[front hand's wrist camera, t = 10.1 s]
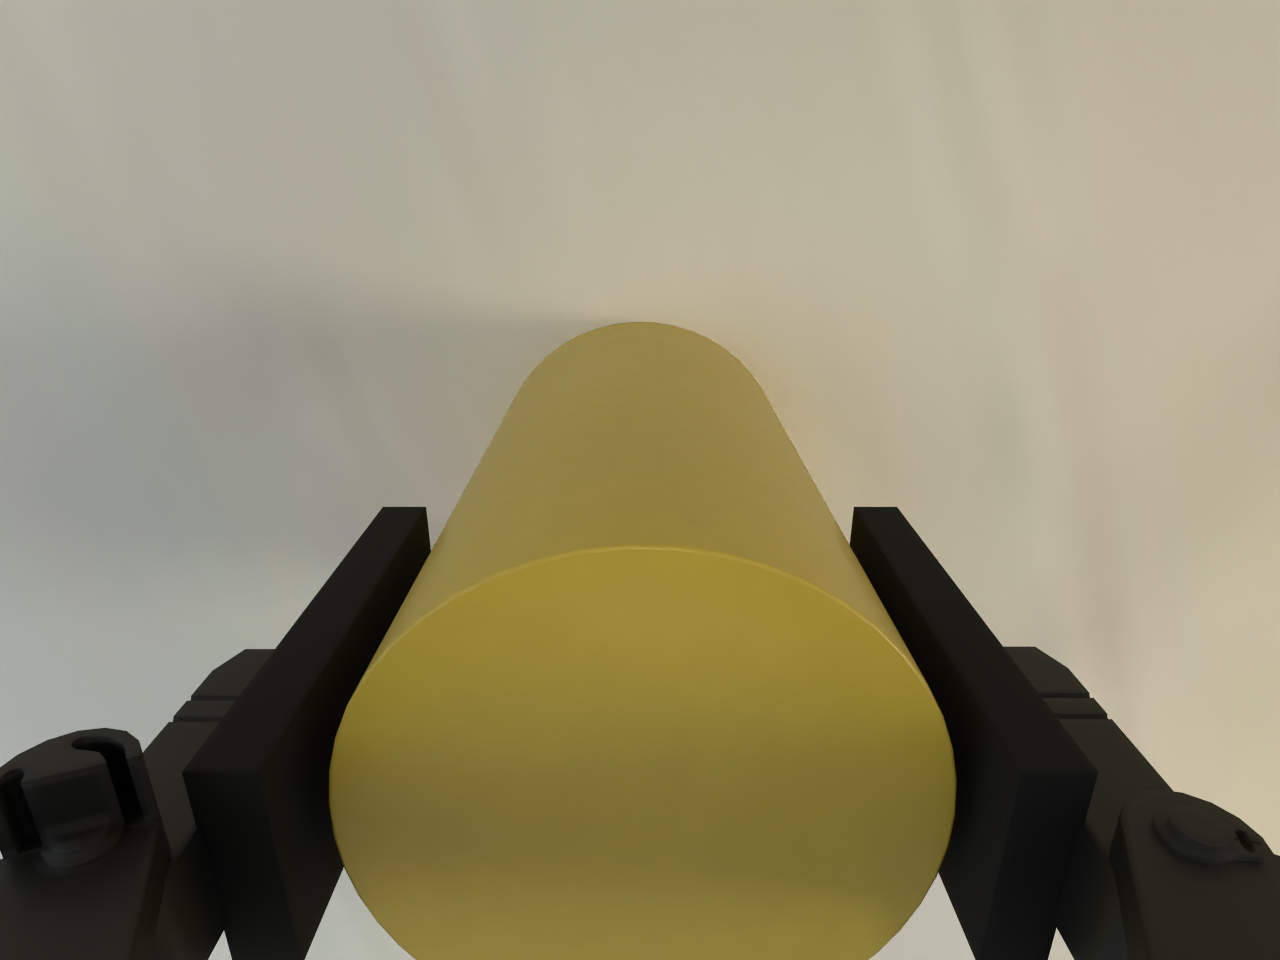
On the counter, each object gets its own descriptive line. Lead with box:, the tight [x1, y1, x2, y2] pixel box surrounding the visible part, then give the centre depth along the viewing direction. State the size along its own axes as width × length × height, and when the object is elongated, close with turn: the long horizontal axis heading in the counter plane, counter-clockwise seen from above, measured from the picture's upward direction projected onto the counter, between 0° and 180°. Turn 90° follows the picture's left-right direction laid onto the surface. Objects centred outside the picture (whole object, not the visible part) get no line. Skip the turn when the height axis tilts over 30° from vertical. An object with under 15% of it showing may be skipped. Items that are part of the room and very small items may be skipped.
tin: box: [329, 322, 957, 960], centre depth 14 cm, size 7×7×12 cm
